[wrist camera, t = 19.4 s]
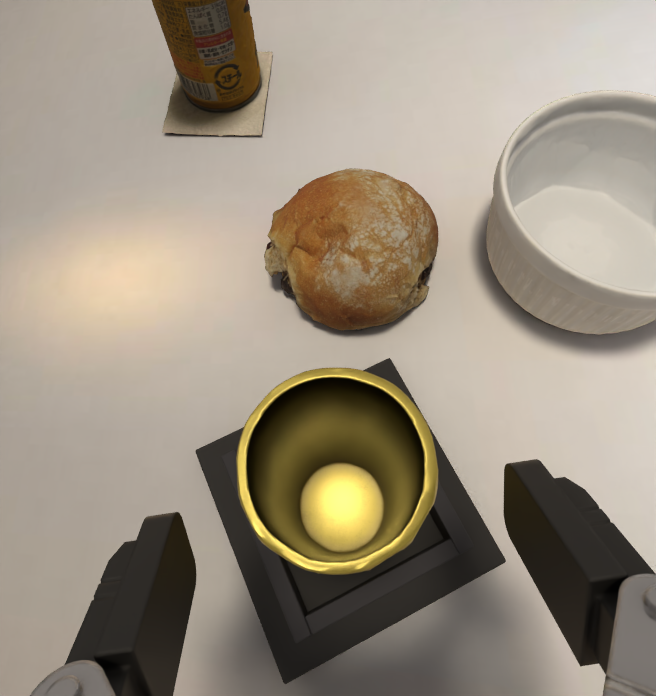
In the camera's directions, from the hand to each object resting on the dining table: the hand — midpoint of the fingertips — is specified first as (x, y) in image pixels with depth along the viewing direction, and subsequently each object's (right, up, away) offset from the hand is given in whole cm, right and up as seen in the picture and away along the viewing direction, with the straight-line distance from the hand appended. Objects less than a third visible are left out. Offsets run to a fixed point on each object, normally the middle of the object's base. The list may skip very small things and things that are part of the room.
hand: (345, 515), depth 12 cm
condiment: (-9, +23, +26) cm, 36 cm away
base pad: (0, -4, +15) cm, 15 cm away
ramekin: (+15, +10, +20) cm, 27 cm away
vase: (0, -4, +14) cm, 14 cm away
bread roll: (+1, +9, +20) cm, 22 cm away
